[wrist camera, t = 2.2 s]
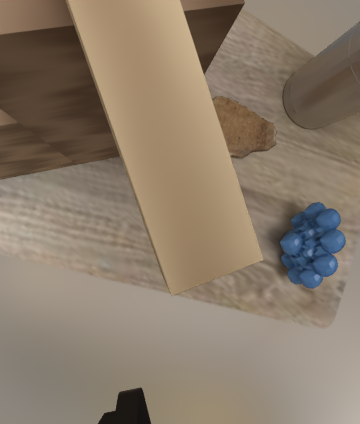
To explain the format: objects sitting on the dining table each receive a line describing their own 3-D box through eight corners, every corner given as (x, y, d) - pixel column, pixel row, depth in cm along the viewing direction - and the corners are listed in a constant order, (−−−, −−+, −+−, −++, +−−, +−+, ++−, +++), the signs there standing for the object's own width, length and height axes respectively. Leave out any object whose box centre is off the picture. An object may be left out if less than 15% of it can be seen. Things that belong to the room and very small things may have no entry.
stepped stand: (145, 70, 43) (185, -295, 12) (162, 148, 44) (244, 3, 12) (-39, 98, 40) (-707, -319, 8) (-17, 182, 40) (-556, 105, 9)
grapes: (266, 198, 46) (312, 196, 35) (306, 204, 48) (365, 204, 36) (256, 275, 47) (299, 299, 35) (297, 279, 48) (352, 303, 36)
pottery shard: (186, 81, 45) (189, 76, 43) (279, 127, 47) (285, 124, 45) (165, 130, 44) (167, 127, 43) (260, 174, 47) (265, 173, 45)
